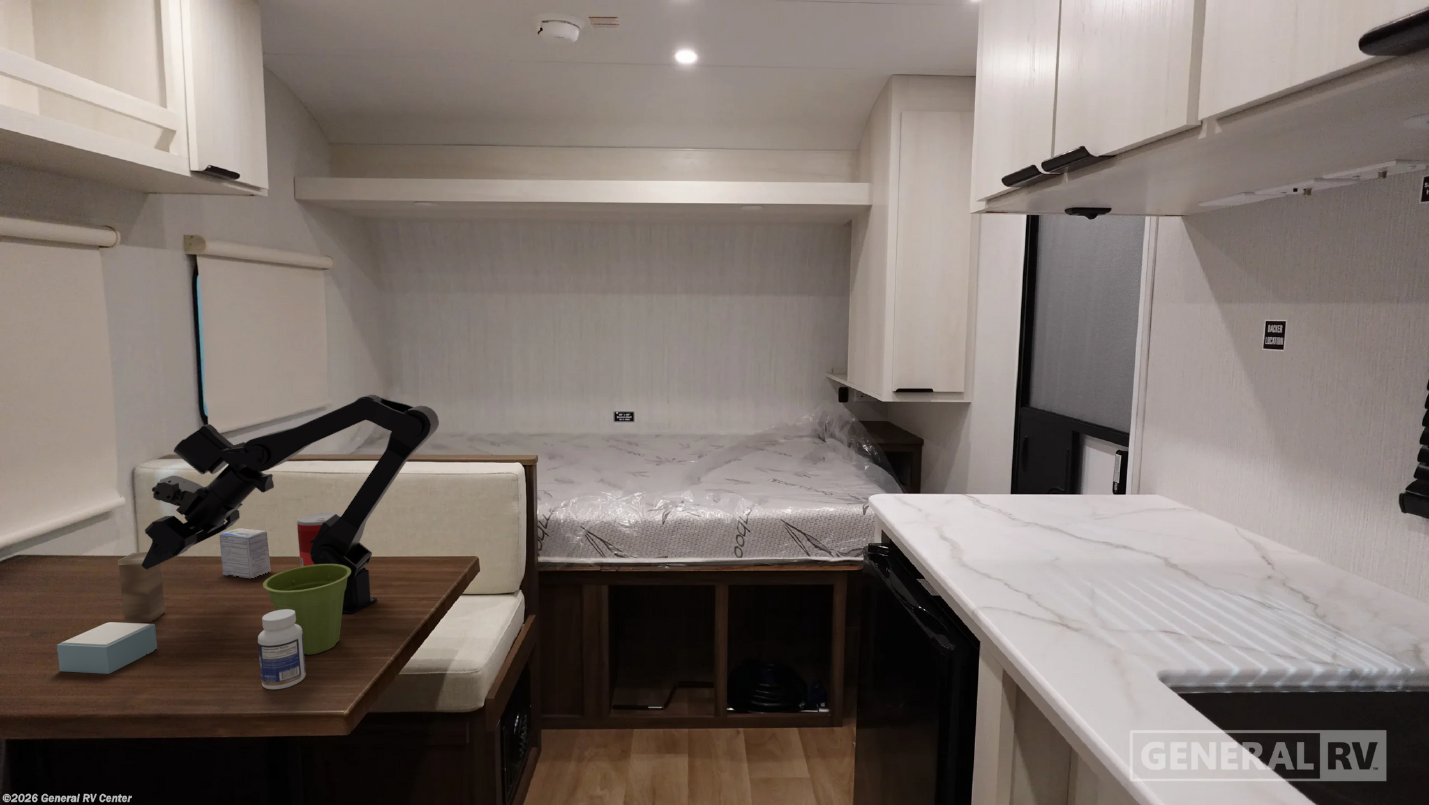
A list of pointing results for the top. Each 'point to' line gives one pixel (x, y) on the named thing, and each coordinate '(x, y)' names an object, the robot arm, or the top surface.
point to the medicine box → (245, 553)
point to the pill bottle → (281, 650)
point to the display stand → (106, 647)
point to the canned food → (309, 533)
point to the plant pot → (312, 601)
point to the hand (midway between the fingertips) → (161, 558)
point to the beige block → (140, 589)
